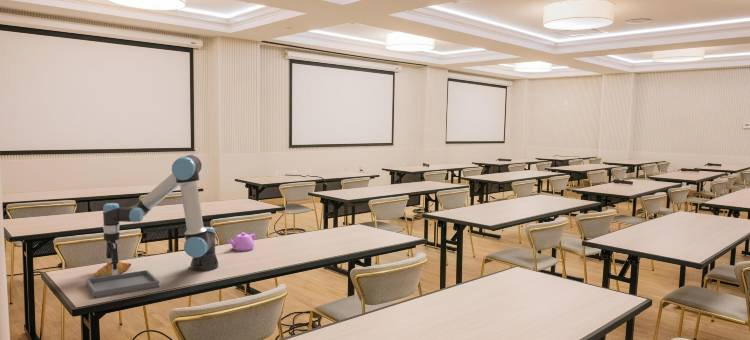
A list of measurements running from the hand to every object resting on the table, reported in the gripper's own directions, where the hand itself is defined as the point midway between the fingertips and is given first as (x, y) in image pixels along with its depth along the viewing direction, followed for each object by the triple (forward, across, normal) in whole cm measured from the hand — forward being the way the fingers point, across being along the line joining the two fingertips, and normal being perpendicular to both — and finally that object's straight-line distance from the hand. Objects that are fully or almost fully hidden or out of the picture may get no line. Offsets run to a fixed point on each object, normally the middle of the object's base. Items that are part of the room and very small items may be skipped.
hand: (112, 272), depth 280 cm
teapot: (+1, -12, +79) cm, 80 cm away
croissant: (+1, 0, 0) cm, 1 cm away
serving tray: (0, +24, 0) cm, 24 cm away
